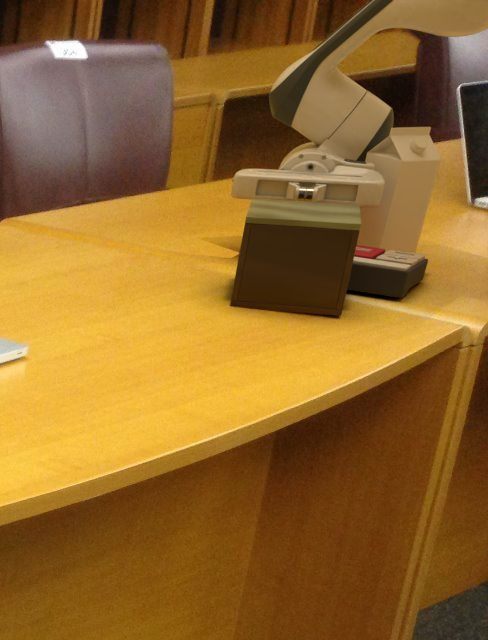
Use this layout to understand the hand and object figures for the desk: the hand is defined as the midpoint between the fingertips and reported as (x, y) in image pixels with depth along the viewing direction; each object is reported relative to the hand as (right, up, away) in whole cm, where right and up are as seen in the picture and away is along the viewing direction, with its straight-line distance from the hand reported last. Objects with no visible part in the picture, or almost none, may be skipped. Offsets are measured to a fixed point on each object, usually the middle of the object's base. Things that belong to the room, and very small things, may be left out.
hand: (305, 195), depth 217 cm
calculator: (+8, -13, -2) cm, 16 cm away
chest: (-8, -18, -11) cm, 22 cm away
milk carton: (+18, -5, +14) cm, 23 cm away
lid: (-7, -8, -15) cm, 18 cm away
